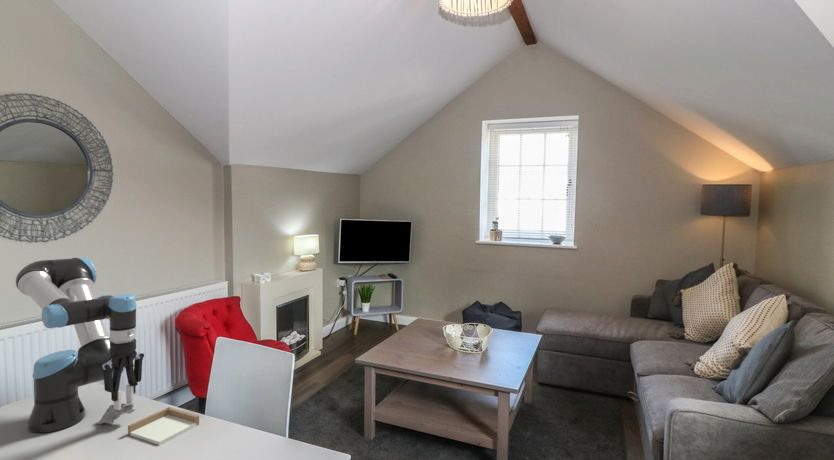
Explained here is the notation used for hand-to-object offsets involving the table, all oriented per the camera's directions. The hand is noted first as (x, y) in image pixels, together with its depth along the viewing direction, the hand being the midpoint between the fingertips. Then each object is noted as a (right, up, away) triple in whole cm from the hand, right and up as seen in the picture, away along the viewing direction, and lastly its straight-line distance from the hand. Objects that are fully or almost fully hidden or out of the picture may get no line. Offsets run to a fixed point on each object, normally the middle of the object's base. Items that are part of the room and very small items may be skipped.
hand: (123, 406), depth 151 cm
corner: (+16, -7, -4) cm, 18 cm away
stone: (+2, -4, +3) cm, 5 cm away
